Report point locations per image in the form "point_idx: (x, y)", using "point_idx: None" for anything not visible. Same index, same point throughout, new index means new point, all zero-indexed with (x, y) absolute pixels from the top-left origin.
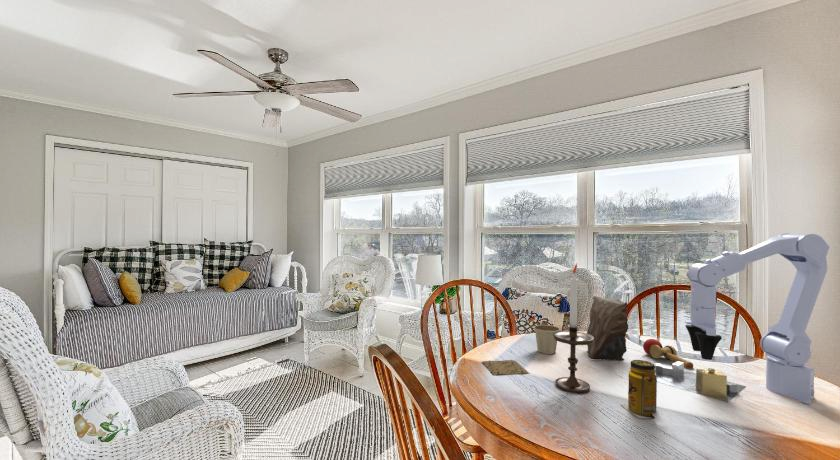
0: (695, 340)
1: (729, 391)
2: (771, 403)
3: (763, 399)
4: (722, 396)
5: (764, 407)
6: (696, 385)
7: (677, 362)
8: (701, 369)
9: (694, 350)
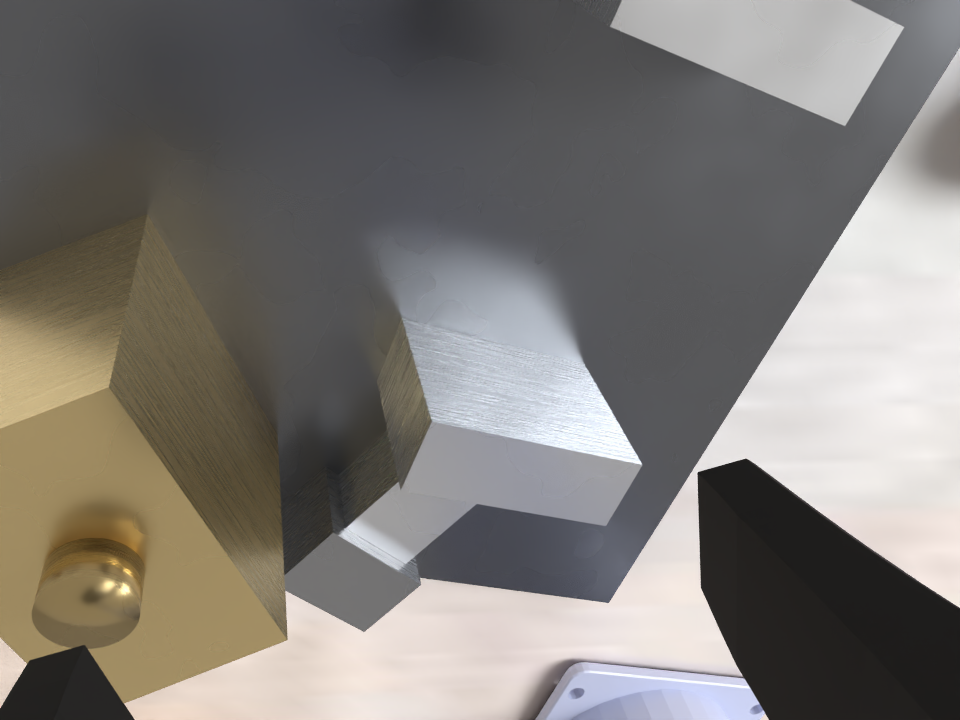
0: (856, 710)
1: None
2: (328, 712)
3: (395, 673)
4: None
5: (172, 689)
6: (124, 245)
7: (816, 18)
8: (139, 455)
9: (698, 486)
